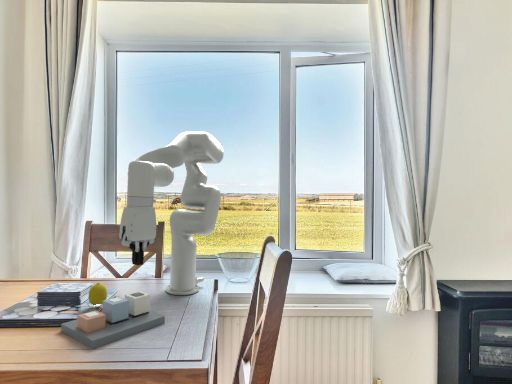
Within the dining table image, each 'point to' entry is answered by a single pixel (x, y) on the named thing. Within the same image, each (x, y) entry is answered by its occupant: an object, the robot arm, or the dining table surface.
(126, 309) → the key slate
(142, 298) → the key cream
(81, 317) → the key terracotta
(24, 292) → the dining table surface
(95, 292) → the lemon
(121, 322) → the keypad board
